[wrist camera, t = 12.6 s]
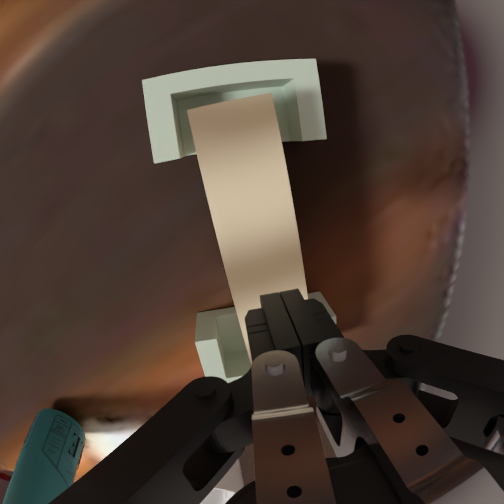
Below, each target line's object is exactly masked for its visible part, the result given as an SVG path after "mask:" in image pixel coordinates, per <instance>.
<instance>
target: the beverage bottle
mask: <svg viewBox="0 0 504 504" xmlns="http://www.w3.org/2000/svg"><path fill="white" fill-rule="evenodd" d="M30 427H31V428H30V430H29V431H28V435H27V438H26V440H25V439H24V440H25V442H24V445H23V448H22V450H21V451H20V452H21V453H20V456H19V458H18V461H17V464H16V467H15V470H14V472H13V475H12V478H11V480H10V483H9V486H8V489H7V492H6V495H5V498H4V501H3V504H48V503H50V502H51V501H52V500H53V499H55V498H56V497H57V496H59V495H60V494H61V493H62V492H64V491H65V490H66V489H67V488H69V487H70V486H71V485H72V484H73V481H74V477H75V473H76V469H78V468H77V466H78V467H79V463H80V460H81V459H79V458H81V456H82V453H83V452H81V451H83V448H84V446H85V444H84V443H85V442H84V441H85V440H86V439H85V433H84V430H83V428H82V427H81V426H80V424H79V423H78V422H77V421H75V420H74V419H73V418H72V417H70V416H68V415H67V414H65V413H63V412H61V411H58V410H55V409H49V408H46V409H42V410H41V411H40V412H38V414H37V416H36V417H35V418H34V423H33V425H32V424H31V426H30Z"/></svg>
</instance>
